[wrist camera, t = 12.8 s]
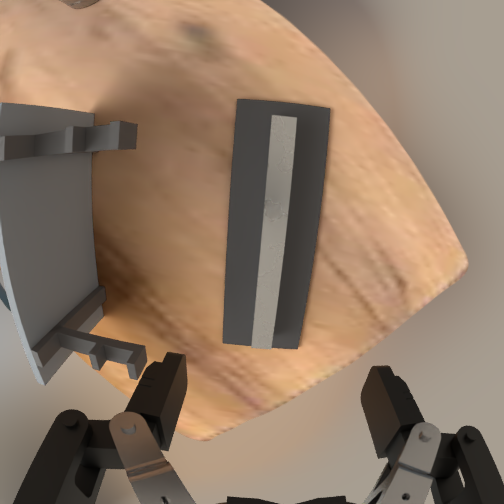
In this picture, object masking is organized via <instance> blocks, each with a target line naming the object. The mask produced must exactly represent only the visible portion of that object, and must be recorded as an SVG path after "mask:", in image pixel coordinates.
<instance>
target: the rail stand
mask: <svg viewBox="0 0 504 504" xmlns="http://www.w3.org/2000/svg"><path fill="white" fill-rule="evenodd" d="M137 125H138V124H134V123H129V122H124V121H113V122H110V125H100V126H94V114H93V113H87V112H81V111H74V110H68V109H61V108H53V107H45V106H36V105H26V104H14V103H0V266H1V271H2V276H3V280H4V285H5V289H6V293H7V297H8V301H9V304H10V308H11V311H12V314H13V318H14V321H15V324H16V327H17V331H18V333H19V337H20V339H21V342H22V345H23V348H24V350H25V353H26V356H27V358H28V361H29V363H30V366H31V368H32V370H33V373H34V375H35V377H36V380H37V382H38V383H40V384H43V385H46V384H47V383H48V381H49V380H50V379H51V377H52V376H53V375H54V374H55V373H56V372H57V370H58V369H59V368H60V367H61V365H62V364H63V363H64V362H65V361H66V359H67V358H68V357H69V356H70V355H71V353H72V352H73V351H76V352H79V353H83V354H86V355H89V357H90V360H91V364H92V367H93V369H96V370H99V371H100V369H101V368H102V366H103V365H104V363H105V362H106V361H107V360H109V361H113V362H117V363H121V364H126V365H127V368H128V373H129V377H130V379H135V380H138V378H139V376H140V374H141V372H142V370H143V369H144V367H145V365H146V363H147V356H146V349H145V346H144V345H139V344H133V343H128V342H124V341H119V340H114V339H110V338H105V337H101V336H97V335H93V334H89V333H90V331H91V330H92V329H93V328H94V327H95V326H96V325H97V323H98V322H99V321H100V320H101V319H102V318H103V317H104V315H103V310H102V304H103V303H104V302H105V301H106V293H105V287H103V286H99V283H98V276H97V267H96V258H95V247H94V235H93V218H92V152H98V151H104V150H126V149H136V139H137Z"/></svg>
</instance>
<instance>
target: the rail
mask: <svg viewBox="0 0 504 504" xmlns="http://www.w3.org/2000/svg"><path fill="white" fill-rule="evenodd" d="M296 123H297V118H296V117H287V116H277V115H272V119H271V131H270V143H269V155H268V167H267V179H266V190H265V202H264V213H263V225H262V236H261V247H260V258H259V269H258V280H257V291H256V301H255V312H254V323H253V333H252V345H251V348H260V349H271V347H272V340H273V333H274V326H275V318H276V311H277V303H278V296H279V288H280V280H281V272H282V263H283V255H284V246H285V237H286V228H287V219H288V210H289V200H290V190H291V180H292V169H293V159H294V147H295V136H296Z"/></svg>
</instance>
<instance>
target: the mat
mask: <svg viewBox="0 0 504 504" xmlns="http://www.w3.org/2000/svg"><path fill="white" fill-rule="evenodd" d="M272 115H277V116H287V117H296V118H297V123H296V136H295V147H294V159H293V169H292V180H291V190H290V200H289V210H288V219H287V228H286V237H285V246H284V255H283V263H282V272H281V280H280V288H279V296H278V303H277V311H276V318H275V326H274V333H273V340H272V347H271V348H284V349H298V345H299V340H300V335H301V329H302V324H303V319H304V313H305V308H306V302H307V297H308V291H309V285H310V279H311V273H312V266H313V260H314V253H315V247H316V240H317V233H318V225H319V218H320V210H321V202H322V194H323V185H324V176H325V166H326V156H327V146H328V134H329V121H330V108H324V107H318V106H311V105H303V104H295V103H286V102H276V101H264V100H250V99H237V109H236V121H235V133H234V146H233V159H232V173H231V188H230V203H229V219H228V236H227V254H226V274H225V296H224V320H223V343H225V344H235V345H245V346H251V345H252V333H253V323H254V312H255V301H256V291H257V280H258V269H259V258H260V247H261V236H262V225H263V213H264V202H265V190H266V179H267V167H268V155H269V143H270V131H271V119H272Z"/></svg>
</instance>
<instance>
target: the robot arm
mask: <svg viewBox="0 0 504 504" xmlns="http://www.w3.org/2000/svg"><path fill="white" fill-rule="evenodd" d="M59 1H61V2H63V3H65V4H66V5H68V6H70V7H71V8H75V9H80V8H84V7H87V6H90V5H92V4H93V3H95V2H97V1H98V0H59ZM186 391H187V367H186V356H185V354H179V353H172V352H167V353H166V356H165V358H164V360H163V362H162V363H161V362H156V361H154V362H153V363H152V364H151V365H149V366H148V367H147V368H146V369H145V371H144V373H143V375H142V378H141V379H140V381H139V383H138V385H137V387H136V389H135V391H134V393H133V395H132V397H131V399H130V401H129V403H128V405H127V407H126V410H125V411H124V412H122V413H119V414H117V415H115V416H114V417H113V418H112V419H111V420H88V418H87V417H86V415H85V414H84V413H82V412H81V411H78V410H72V409H71V410H66V411H64V412H61V413H60V414H59V415H58V416H57V417H56V419H55V421H54V423H53V424H52V426H51V428H50V430H49V432H48V434H47V435H46V437H45V439H44V441H43V443H42V445H41V447H40V448H39V450H38V452H37V454H36V456H35V458H34V460H33V462H32V464H31V466H30V468H29V470H28V472H27V474H26V476H25V478H24V480H23V483H22V485H21V487H20V489H19V491H18V493H17V496H16V498H15V500H14V503H13V504H95V501H96V498H97V495H98V492H99V489H100V486H101V483H102V480H103V477H104V474H105V471H106V469H125V470H126V472H127V476H128V479H129V481H130V483H131V485H132V487H133V489H134V491H135V493H136V495H137V497H138V499H139V501H140V503H141V504H196V503H195V501H194V500H193V498H192V497H191V495H190V494H189V492H188V491H187V489H186V488H185V486H184V485H183V483H182V482H181V480H180V478H179V477H178V475H177V474H176V472H175V470H174V469H173V467H172V466H171V464H170V463H169V462H167V460H166V459H165V457H164V456H163V454H162V452H161V450H165V451H169V447H170V444H171V441H172V437H173V434H174V431H175V427H176V424H177V421H178V417H179V414H180V411H181V408H182V404H183V401H184V398H185V395H186ZM361 404H362V407H363V410H364V413H365V416H366V420H367V423H368V426H369V430H370V433H371V436H372V439H373V443H374V446H375V450H376V453H377V457H378V459H379V458H385V457H387V458H388V463H387V464H386V466H385V468H384V469H383V471H382V473H381V475H380V477H379V479H378V480H377V482H376V484H375V486H374V487H373V489H372V491H371V493H370V494H369V496H368V497H367V498H366V500H365V501H364V502H363V503H362V504H424V502H425V500H426V497H427V495H428V492H429V489H430V488H431V491H432V495H433V499H434V503H435V504H504V484H503V481H502V479H501V476H500V474H499V472H498V469H497V467H496V465H495V462H494V460H493V458H492V456H491V454H490V451H489V449H488V447H487V445H486V443H485V441H484V439H483V437H482V435H481V433H480V431H479V430H478V429H476V428H475V427H472V426H464V427H461V428H460V429H459V431H458V432H457V433H456V434H448V433H440V431H439V429H438V428H437V427H436V426H434V425H433V424H430V423H427V422H425V421H424V418H423V416H422V414H421V412H420V410H419V408H418V406H417V404H416V402H415V400H414V399H413V396H412V394H411V393H410V390H409V388H408V386H407V384H406V383H405V382H404V381H403V380H402V379H401V378H400V377H399V376H395V375H394V374H393V371H392V369H391V368H390V366H373V367H372V368H371V369H370V372H369V374H368V377H367V379H366V382H365V384H364V386H363V389H362V392H361ZM459 469H460V470H461V473H462V476H463V478H464V481H465V487H463V484H462V481H461V478H460V475H459V472H458V470H459ZM218 504H278V503H274V502H269V501H265V500H261V499H254V498H239V497H227V502H226V503H218ZM297 504H355V503H350V502H346V497H345V496H336V497H327V498H316V499H313V500H309V501H306V502H301V503H297Z"/></svg>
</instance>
